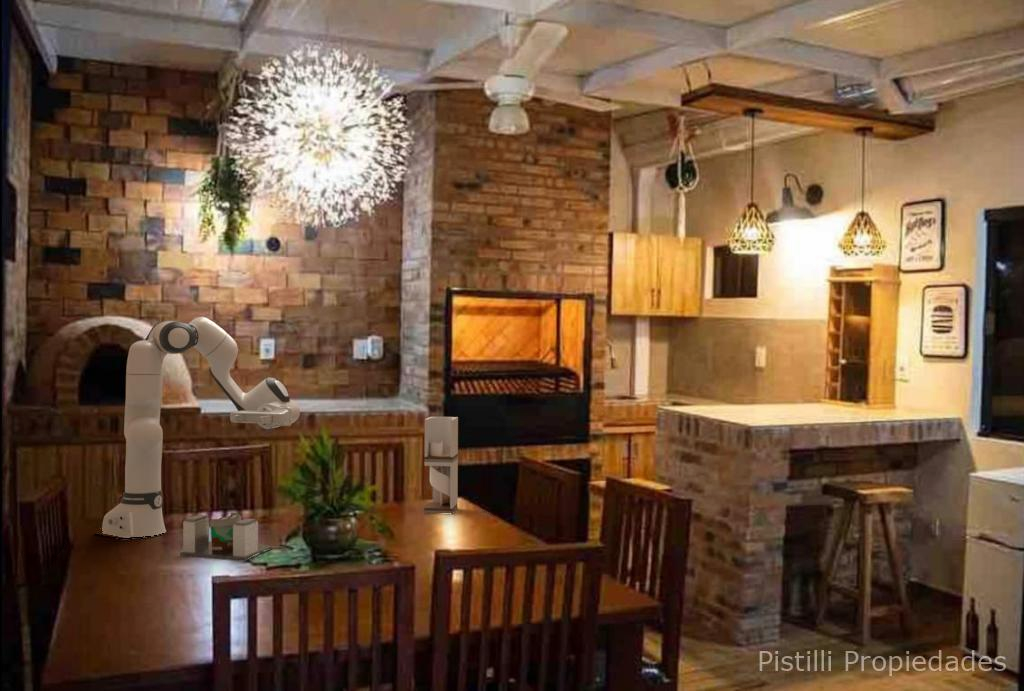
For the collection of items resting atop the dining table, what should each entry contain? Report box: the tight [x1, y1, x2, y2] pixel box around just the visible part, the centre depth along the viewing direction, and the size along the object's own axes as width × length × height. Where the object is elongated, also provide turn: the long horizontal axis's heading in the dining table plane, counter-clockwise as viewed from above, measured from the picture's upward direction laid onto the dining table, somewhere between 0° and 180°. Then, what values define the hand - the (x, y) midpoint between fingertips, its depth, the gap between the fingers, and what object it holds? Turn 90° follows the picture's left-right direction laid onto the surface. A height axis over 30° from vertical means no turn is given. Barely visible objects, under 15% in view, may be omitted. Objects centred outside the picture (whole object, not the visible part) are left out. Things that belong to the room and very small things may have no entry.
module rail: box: [179, 514, 273, 561], centre depth 277 cm, size 22×15×11 cm
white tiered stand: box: [423, 416, 459, 515], centre depth 344 cm, size 11×11×35 cm
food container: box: [209, 512, 243, 552], centre depth 277 cm, size 12×6×10 cm, turn 165°
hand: (247, 419), depth 304 cm, fingers open, 8 cm apart
